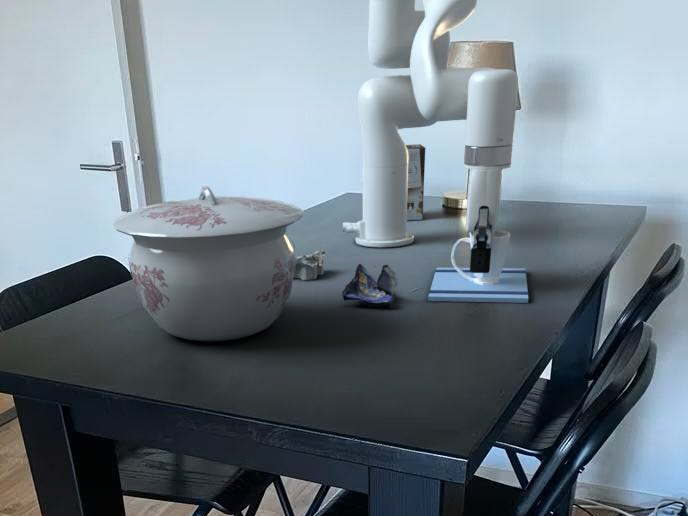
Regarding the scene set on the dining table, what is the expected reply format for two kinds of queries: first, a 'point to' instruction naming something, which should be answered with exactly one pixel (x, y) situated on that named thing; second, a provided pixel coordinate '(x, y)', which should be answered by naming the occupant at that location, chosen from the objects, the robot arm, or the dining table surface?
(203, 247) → the chamber pot
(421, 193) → the coffee box
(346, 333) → the dining table surface
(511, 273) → the towel
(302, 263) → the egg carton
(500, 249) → the cup
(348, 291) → the snack package
